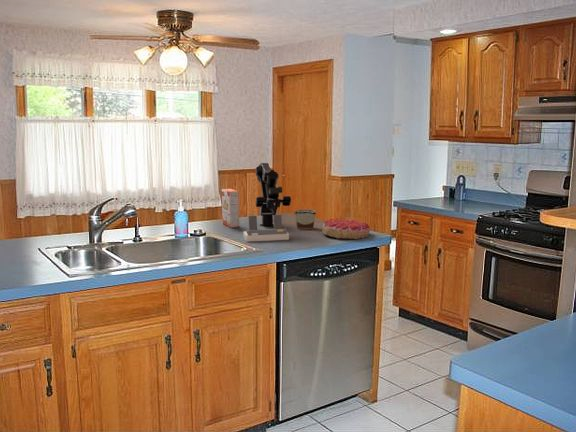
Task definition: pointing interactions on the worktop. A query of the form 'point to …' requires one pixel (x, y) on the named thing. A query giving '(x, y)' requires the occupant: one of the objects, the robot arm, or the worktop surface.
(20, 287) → the worktop surface
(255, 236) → the switch panel
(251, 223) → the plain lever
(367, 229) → the cake
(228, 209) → the cracker box
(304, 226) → the food container
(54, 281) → the worktop surface
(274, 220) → the grey rectangular carton
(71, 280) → the worktop surface
